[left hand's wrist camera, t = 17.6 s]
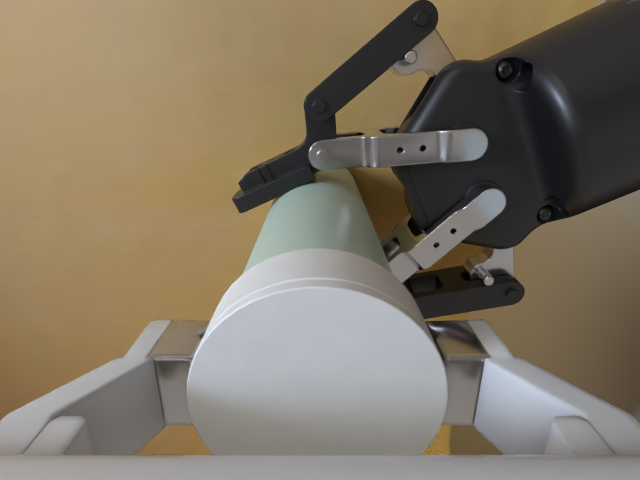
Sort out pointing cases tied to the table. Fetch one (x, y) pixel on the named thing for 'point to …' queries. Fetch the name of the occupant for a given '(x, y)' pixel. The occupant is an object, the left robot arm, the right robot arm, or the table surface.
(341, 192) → the jar
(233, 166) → the table surface
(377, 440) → the lid
